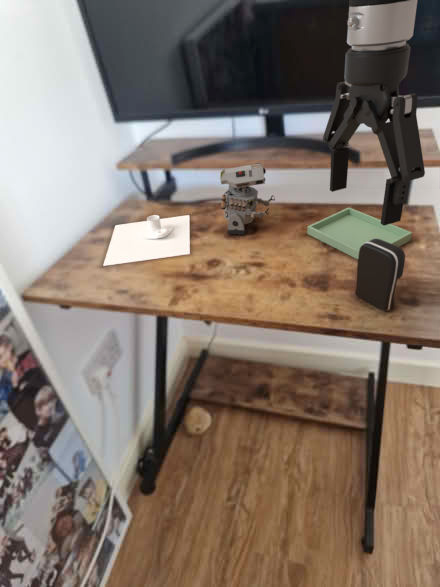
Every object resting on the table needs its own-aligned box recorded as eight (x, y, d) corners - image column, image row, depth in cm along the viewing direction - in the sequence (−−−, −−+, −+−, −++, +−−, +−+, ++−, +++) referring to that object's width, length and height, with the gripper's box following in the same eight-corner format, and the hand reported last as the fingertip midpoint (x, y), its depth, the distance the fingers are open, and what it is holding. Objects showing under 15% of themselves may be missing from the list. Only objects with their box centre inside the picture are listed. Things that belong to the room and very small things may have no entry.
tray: (410, 240, 85) (412, 232, 84) (367, 264, 80) (368, 256, 79) (348, 214, 97) (349, 207, 96) (307, 233, 92) (307, 226, 91)
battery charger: (400, 304, 70) (411, 247, 63) (385, 314, 68) (395, 257, 61) (367, 286, 74) (374, 232, 68) (353, 295, 73) (358, 240, 66)
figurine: (268, 237, 93) (265, 174, 84) (221, 235, 96) (213, 174, 87) (275, 218, 100) (273, 158, 91) (231, 217, 103) (224, 159, 94)
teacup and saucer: (172, 239, 98) (168, 224, 95) (139, 244, 98) (135, 229, 95) (173, 222, 105) (170, 208, 102) (142, 227, 105) (139, 212, 102)
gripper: (302, 43, 58) (301, 183, 71) (424, 59, 39) (393, 247, 52) (347, 34, 60) (339, 173, 73) (487, 46, 40) (442, 232, 53)
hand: (362, 204), depth 62 cm, fingers open, 13 cm apart
